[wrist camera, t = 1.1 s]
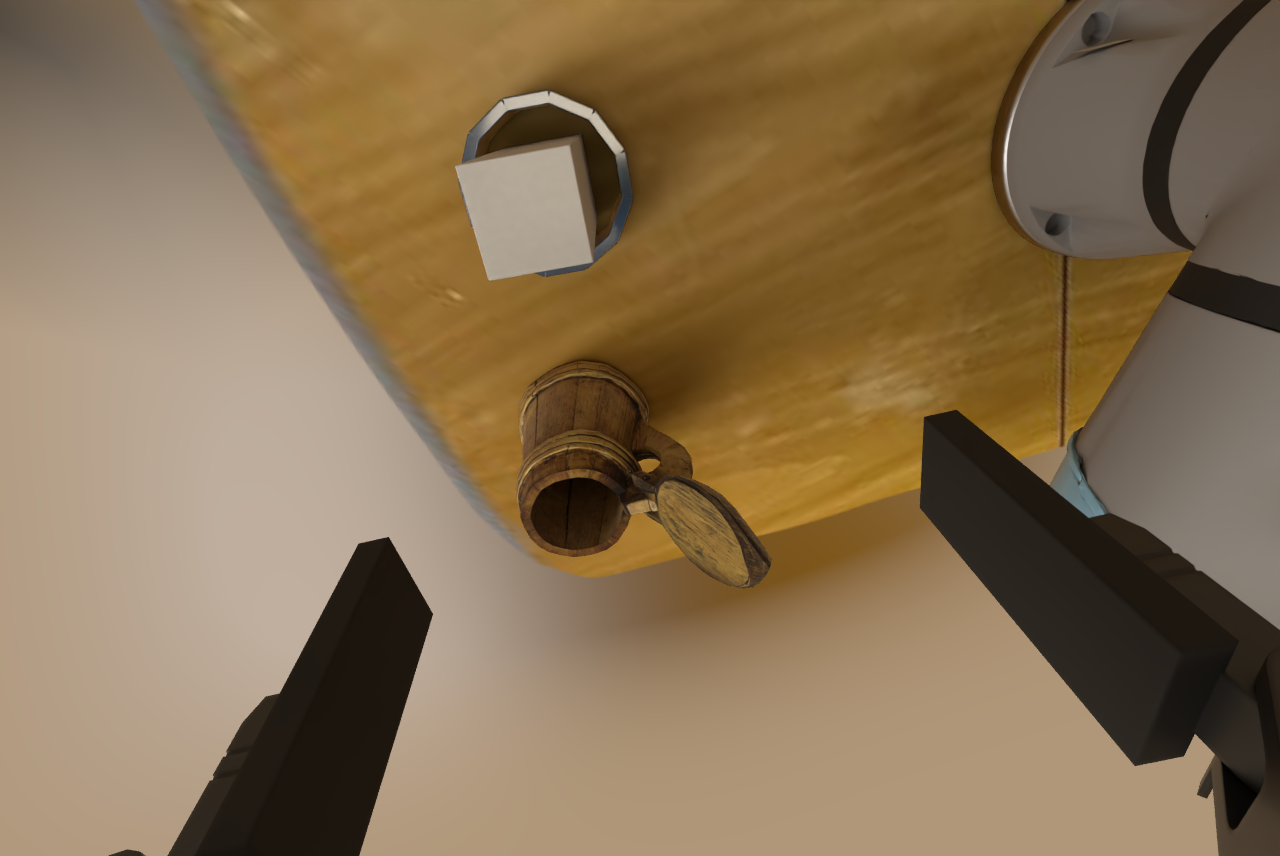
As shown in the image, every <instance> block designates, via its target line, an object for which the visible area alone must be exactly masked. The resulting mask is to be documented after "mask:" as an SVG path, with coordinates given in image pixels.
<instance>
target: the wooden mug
mask: <svg viewBox="0 0 1280 856" xmlns="http://www.w3.org/2000/svg"><path fill="white" fill-rule="evenodd" d="M649 414H650V413H649V407H648V403H647V401H646V399H645V396H644V395H643V394H642V392H641V391H640V390H639V389H638V387H637V386H636V385H635V384H634V383H633V382H632V381H631V380H630V379H628V378H627V377H626V376H625V375H624V374H622V373H621V372H620V371H618V370H616V369H614V368H612V367H610V366H609V365H607V364H604V363H595V362H587V361H577V362H573V363H570V364H565V365H563V366H560V367H557V368H555V369H553V370H551V371H550V372H548V373H547V374H545V375H544V376H542V377H541V378H539V379H538V380H537V381H535V382H534V383H533V384H531V385H530V386H529V387H528V388H527V390H526V392H525V394H524V396H523V398H522V400H521V401H520V411H519V433H520V438H521V442H522V444H523V463H522V465H521V467H520V469H519V471H518V475H517V482H516V495H517V502H518V506H519V511H520V513H521V520H522V523H523V525H524V528H525V529H526V531H527V533H528V535H529V536H530V538H531V539H532V540H533V541H534V542H535V543H536V544H537V545H538V546H539V547H541V548H543V549H545V550H546V551H548V552H551V553H555V554H559V555H564V556H571V557H578V556H586V555H591V554H595V553H598V552H601V551H604V550H607V549H608V548H610V547H611V546H612V545H614V544H615V543H616V542H617V541H618V540H619V538H620V537H621V535H622V534H623V532H624V531H625V529H626V527H627V526H628V523H629V520H630V518H631V516H632V514H636V513H642V512H644V513H645V514H646V515H647V516H649V517H650V518H651V519H653V520H655V521H657V522H658V523H660V524H662V525H663V526H664V528H665V529H666V531H667V532H668V534H669V535H670V537H671V538H672V540H673V541H674V542H675V544H676V545H677V546H678V547H679V548H680V549H681V551H682V552H683V553H684V554H685V555H686V556H687V558H688V559H689V560H690V561H691V562H693V563H694V564H695V565H696V566H697V567H698V568H700V569H701V570H702V571H703V572H705V573H706V574H708V575H709V576H710V577H712V578H714V579H716V580H718V581H720V582H722V583H724V584H726V585H729V586H735V587H739V588H750V587H754V586H755V585H757V584H758V583H759V582H760V581H761V580H762V579H763V578H764V577H765V576H766V574H767V572H768V571H769V569H770V564H771V561H772V559H771V557H770V556H769V554H768V553H767V551H766V550H765V548H764V547H763V545H762V544H761V542H760V541H759V540H758V538H757V537H756V535H755V534H754V533H753V531H752V530H751V529H750V527H749V526H748V525H747V523H746V522H745V521H744V519H743V518H742V517H741V515H740V514H739V513H738V511H737V510H736V509H735V508H734V507H733V506H732V505H731V504H730V503H729V502H728V501H727V499H726V498H725V497H724V496H723V495H721V494H720V493H718V492H717V491H715V490H713V489H712V488H710V487H709V486H707V485H705V484H702V483H700V482H698V481H696V480H693V479H692V475H693V469H692V458H691V457H690V455H689V454H688V452H687V451H686V449H685V448H684V447H683V446H682V445H680V444H679V443H678V442H676V441H675V440H673V439H672V438H670V437H669V436H667V435H665V434H663V433H661V432H659V431H657V430H655V429H653V428H652V427H650V426H649V425H648V420H649ZM643 459H657V460H659V461H660V464H659V466H658V467H657V468H656V469H655V470H653V471H651V472H649V473H646V472H644V471H642V469H641V466H640V465H639V463H638V461H641V460H643Z"/></svg>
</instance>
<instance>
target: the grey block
mask: <svg viewBox="0 0 1280 856" xmlns="http://www.w3.org/2000/svg"><path fill="white" fill-rule="evenodd" d="M455 168H456V171H457V174H458V178H459V181H460V185H461V188H462V191H463V195H464V198H465V202H466V205H467V208H468V212H469V215H470V219H471V222H472V225H473V229H474V232H475V235H476V239H477V242H478V246H479V249H480V252H481V256H482V259H483V263H484V266H485V269H486V273H487V276H488V280H489V281H492V280H497V279H503V278H508V277H514V276H520V275H525V274H531V273H537V272H542V271H548V270H554V269H559V268H565V267H570V266H576V265H582V264H587V263H592V262H593V259H594V247H595V235H596V223H597V212H596V206H595V201H594V196H593V191H592V185H591V180H590V175H589V169H588V164H587V159H586V153H585V148H584V143H583V138H582V134H577V135H571V136H566V137H561V138H555V139H550V140H544V141H539V142H534V143H528V144H523V145H517V146H512V147H507V148H503V149H500V150H498V151H495V152H492V153H489V154H486V155H483V156H481V157H478V158H475V159H472V160H469V161H467V162H464V163H461V164H458V165H456V166H455Z"/></svg>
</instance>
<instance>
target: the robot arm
mask: <svg viewBox="0 0 1280 856" xmlns="http://www.w3.org/2000/svg"><path fill="white" fill-rule="evenodd" d="M991 171H992V181H993V186H994V191H995V195H996V198H997V201H998V204H999V206H1000V208H1001V210H1002V212H1003V214H1004V216H1005V217H1006V219H1007V220H1008V222H1009V223H1010V225H1011V226H1012V227H1013V228H1014V229H1015V230H1016V231H1017V232H1018V233H1019V234H1020V235H1021V236H1022V237H1023V238H1025V239H1026V240H1028V241H1029V242H1031V243H1033V244H1035V245H1037V246H1039V247H1041V248H1044V249H1047V250H1050V251H1053V252H1056V253H1059V254H1063V255H1066V256H1071V257H1076V258H1087V259H1116V258H1125V257H1134V256H1144V255H1153V254H1162V253H1172V252H1181V251H1193V253H1192V254H1191V256H1190V257H1189V259H1188V261H1187V263H1186V264H1185V266H1184V267H1183V269H1182V271H1181V272H1180V274H1179V276H1178V277H1177V279H1176V280H1175V282H1174V284H1173V285H1172V287H1171V288H1170V290H1169V291H1168V292H1167V293H1166V295H1165V296H1164V298H1163V300H1162V301H1161V303H1160V304H1159V306H1158V308H1157V309H1156V311H1155V313H1154V314H1153V316H1152V318H1151V319H1150V321H1149V322H1148V324H1147V326H1146V327H1145V329H1144V331H1143V332H1142V334H1141V335H1140V337H1139V339H1138V340H1137V342H1136V344H1135V345H1134V347H1133V348H1132V350H1131V352H1130V353H1129V355H1128V357H1127V358H1126V360H1125V361H1124V363H1123V365H1122V366H1121V368H1120V370H1119V371H1118V373H1117V374H1116V376H1115V378H1114V379H1113V381H1112V383H1111V384H1110V386H1109V388H1108V389H1107V391H1106V392H1105V394H1104V396H1103V397H1102V399H1101V401H1100V402H1099V404H1098V405H1097V407H1096V409H1095V410H1094V412H1093V413H1092V415H1091V416H1090V418H1089V419H1088V421H1087V423H1086V424H1085V426H1084V427H1082V428H1080V429H1079V430H1077V431H1075V432H1074V433H1073V434H1072V436H1071V437H1070V439H1069V441H1068V445H1067V454H1066V456H1065V457H1064V459H1063V461H1062V463H1061V465H1060V467H1059V469H1058V470H1057V472H1056V474H1055V476H1054V478H1053V480H1052V482H1051V484H1050V485H1048V484H1047V483H1045V482H1044V481H1043V480H1042V479H1041V478H1039V477H1038V476H1037V475H1036V474H1034V473H1033V472H1032V471H1031V470H1030V469H1028V468H1027V467H1026V466H1025V465H1023V464H1022V463H1021V462H1020V461H1019V460H1017V459H1016V458H1015V457H1014V456H1012V455H1011V454H1010V453H1009V452H1008V451H1006V450H1005V449H1004V448H1003V447H1001V446H1000V445H999V444H998V443H996V442H995V441H994V440H993V439H992V438H990V437H989V436H988V435H987V434H985V433H984V432H983V431H982V430H981V429H979V428H978V427H977V426H976V425H974V424H973V423H972V422H971V421H970V420H968V419H967V418H966V417H965V416H963V415H962V414H961V413H960V412H959V411H957V410H953V411H949V412H944V413H940V414H936V415H931V416H927V417H924V430H923V451H922V473H921V494H920V508H921V510H922V511H923V512H924V513H925V514H926V516H927V517H928V518H929V519H930V520H931V522H932V523H933V524H934V525H935V526H936V528H937V529H938V530H939V531H940V532H941V534H942V535H943V536H944V537H945V538H946V540H947V541H948V542H949V543H950V544H951V546H952V547H953V548H954V549H955V551H956V552H957V553H958V554H959V555H960V556H961V558H962V559H963V560H964V561H965V563H966V564H967V565H968V566H969V567H970V569H971V570H972V571H973V572H974V573H975V574H976V576H977V577H978V578H979V579H980V581H981V582H982V583H983V584H984V585H985V587H986V588H987V589H988V590H989V591H990V593H992V595H993V596H994V597H995V598H996V600H997V601H998V602H999V603H1000V605H1001V606H1002V607H1003V608H1004V609H1005V610H1006V612H1007V613H1008V614H1009V615H1010V616H1011V618H1012V619H1013V620H1014V621H1015V623H1016V624H1017V625H1018V626H1019V627H1020V629H1021V630H1022V631H1023V632H1024V633H1025V635H1026V636H1027V637H1028V638H1029V639H1030V641H1031V642H1032V643H1033V644H1034V645H1035V647H1036V648H1037V649H1038V650H1039V651H1040V653H1041V654H1042V655H1043V656H1044V657H1045V658H1046V660H1047V661H1048V662H1049V663H1050V665H1051V666H1052V667H1053V668H1054V669H1055V671H1056V672H1057V673H1058V674H1059V675H1060V677H1061V678H1062V679H1063V680H1064V681H1065V683H1066V684H1067V685H1068V686H1069V687H1070V689H1071V690H1072V691H1073V692H1074V693H1075V695H1076V696H1077V697H1078V698H1079V699H1080V701H1081V702H1082V703H1083V704H1084V705H1085V707H1086V708H1087V709H1088V710H1089V711H1090V713H1091V714H1092V715H1093V716H1094V717H1095V719H1096V720H1097V721H1098V722H1099V723H1100V725H1101V726H1102V727H1103V728H1104V729H1105V731H1106V732H1107V733H1108V734H1109V735H1110V737H1111V738H1112V739H1113V740H1114V741H1115V743H1116V744H1117V745H1118V746H1119V747H1120V749H1121V750H1122V751H1123V752H1124V753H1125V755H1126V756H1127V757H1128V758H1129V759H1130V761H1131V762H1132V763H1133V764H1134V765H1135V766H1138V765H1143V764H1147V763H1153V762H1158V761H1162V760H1167V759H1173V758H1177V757H1182V756H1184V755H1185V753H1186V751H1187V749H1188V747H1189V745H1190V743H1191V741H1192V739H1193V736H1194V734H1196V735H1197V736H1198V737H1199V738H1200V739H1201V740H1202V741H1203V742H1204V743H1205V744H1206V745H1207V746H1208V747H1209V748H1210V749H1211V751H1212V752H1213V753H1214V754H1215V756H1214V758H1213V759H1212V761H1211V763H1210V765H1209V767H1208V769H1207V771H1206V773H1205V775H1204V777H1203V778H1202V780H1201V782H1200V786H1199V789H1198V793H1197V795H1199V796H1202V797H1205V798H1208V796H1209V794H1210V792H1211V790H1212V789H1213V795H1214V805H1215V818H1216V829H1217V841H1218V853H1219V856H1280V0H1070V1H1069V2H1068V3H1067V4H1066V5H1064V6H1063V7H1062V8H1061V10H1060V11H1059V12H1058V13H1057V14H1056V15H1055V16H1054V17H1053V18H1052V19H1051V20H1050V21H1049V23H1048V24H1047V25H1046V26H1045V28H1044V29H1043V30H1042V31H1041V33H1040V34H1039V35H1038V37H1037V38H1036V39H1035V41H1034V42H1033V44H1032V45H1031V47H1030V48H1029V49H1028V51H1027V53H1026V54H1025V56H1024V58H1023V59H1022V61H1021V63H1020V64H1019V66H1018V68H1017V70H1016V72H1015V74H1014V76H1013V78H1012V80H1011V82H1010V84H1009V86H1008V89H1007V91H1006V93H1005V96H1004V99H1003V101H1002V104H1001V107H1000V110H999V114H998V117H997V121H996V125H995V130H994V136H993V141H992V153H991ZM432 616H433V613H432V612H431V610H430V608H429V606H428V605H427V603H426V601H425V599H424V598H423V596H422V594H421V592H420V591H419V589H418V587H417V585H416V584H415V582H414V580H413V578H412V577H411V575H410V573H409V571H408V570H407V568H406V566H405V564H404V563H403V561H402V559H401V558H400V556H399V554H398V552H397V551H396V549H395V547H394V545H393V544H392V542H391V540H390V538H389V537H387V538H382V539H378V540H373V541H369V542H365V543H360V544H358V546H357V548H356V550H355V552H354V554H353V555H352V557H351V559H350V561H349V563H348V565H347V567H346V569H345V571H344V572H343V574H342V576H341V578H340V580H339V582H338V584H337V586H336V588H335V590H334V592H333V593H332V595H331V597H330V599H329V601H328V603H327V605H326V607H325V609H324V610H323V612H322V615H321V616H320V618H319V620H318V622H317V624H316V626H315V628H314V630H313V632H312V633H311V635H310V637H309V639H308V641H307V643H306V645H305V647H304V648H303V651H302V652H301V654H300V656H299V658H298V660H297V662H296V664H295V666H294V668H293V669H292V671H291V673H290V675H289V677H288V679H287V681H286V683H285V685H284V686H283V688H282V690H281V692H280V694H276V695H271V696H266V697H265V698H264V699H263V700H262V701H261V703H260V704H259V705H258V706H257V707H256V708H255V709H254V710H253V712H252V713H251V714H250V715H249V716H248V717H247V718H246V719H245V721H244V722H243V723H242V724H241V726H240V728H239V730H238V732H237V733H236V735H235V737H234V739H233V740H232V742H231V744H230V746H229V748H228V749H227V755H226V757H223V758H222V760H221V762H220V764H219V765H218V767H217V769H216V771H215V772H214V774H213V776H214V778H213V780H212V781H209V783H208V785H207V787H206V788H205V790H204V792H203V794H202V796H201V798H200V799H199V801H198V803H197V804H196V806H195V808H194V810H193V811H192V813H191V815H190V817H189V819H188V820H187V822H186V824H185V826H184V828H183V830H182V831H181V833H180V835H179V837H178V838H177V840H176V842H175V843H174V845H173V847H172V849H171V851H170V852H169V854H168V856H359V855H360V851H361V848H362V845H363V841H364V838H365V835H366V832H367V828H368V825H369V822H370V818H371V815H372V812H373V809H374V806H375V802H376V799H377V796H378V792H379V789H380V785H381V782H382V779H383V776H384V773H385V770H386V766H387V763H388V760H389V756H390V753H391V750H392V747H393V743H394V740H395V737H396V734H397V730H398V727H399V724H400V720H401V717H402V714H403V710H404V707H405V704H406V700H407V697H408V694H409V691H410V688H411V684H412V681H413V678H414V675H415V671H416V668H417V665H418V661H419V658H420V655H421V652H422V648H423V645H424V642H425V639H426V635H427V632H428V629H429V626H430V622H431V619H432ZM109 856H145V855H144V854H143V853H141V852H139V851H133V850H124V851H121V852H118V853H115V854H112V855H109Z"/></svg>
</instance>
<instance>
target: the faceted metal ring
mask: <svg viewBox="0 0 1280 856" xmlns="http://www.w3.org/2000/svg"><path fill="white" fill-rule="evenodd" d="M550 105H552V106H555V107H557V108H559V109H562V110H564V111H567V112H569V113H571V114H574V115H576V116H578V117H581V118H583V119H585V120H588V121H589V122H590V124H591V125H592V126H593V128H594V129H595V130H596V132H597V133H598V134H599V135H600V137H601V138H602V139H603V141H604V142H605V143H606V145H607V146H608V147H609V149H610V150H611V151H612V153H613V154H614V155H615V161H616V167H617V173H618V179H619V185H620V193H619V196H618V199H617V201H616V204H615V207H614V210H613V213H612V216H611V219H610V222H609V225H608V226H606V227H605V228H604V229H603V230H602V231H601V232H600V233H599V234H597V235H596V236H595V247H594V259H593V262H592V263H587V264H582V265H576V266H570V267H565V268H559V269H554V270H548V271H542V272H537V273H535V274H538V275H541V276H546V277H548V276H554V275H559V274H565V273H571V272H576V271H582V270H585V269H588V268H589V267H590V266H591V265H592V264H594V263H595V262H596V261H597V260H598V259H599V258H600V257H602V256H603V255H604V254H605V253H606V252H607V251H609V250H610V249H611V248H612V247H613V246H614V245H615V244H617V242H618V241H619V239H620V236H621V233H622V230H623V227H624V225H625V222H626V219H627V216H628V213H629V210H630V207H631V205H632V202H633V193H632V186H631V180H630V174H629V167H628V161H627V155H626V151H625V148H624V146H623V145H622V143H621V142H620V141H619V139H618V138H617V137H616V135H615V134H614V133H613V131H612V130H611V129H610V127H609V126H608V125H607V123H606V122H605V121H604V119H603V118H602V117H601V115H600V114H599V112H598V111H597V110H595V109H594V108H592V107H589V106H587V105H585V104H582V103H580V102H578V101H575V100H573V99H571V98H568V97H566V96H564V95H561V94H559V93H557V92H554V91H552V90H542V91H537V92H532V93H527V94H521V95H516V96H511V97H505V98H503V99H501V100H499V101H498V102H497V103H496V104H495V105H494V106H493V108H492V109H491V110H490V111H489V112H488V113H487V114H486V115H485V116H484V117H483V118H482V119H481V120H480V121H479V122H478V123H477V124H476V125H475V126H474V127H473V128H472V129H471V130H470V131H469V134H468V135H467V140H466V144H465V149H464V154H463V159H462V163H464V162H467V161H469V160H472V159H475V158H478V157H481V156H483V155H486V154H488V150H489V145H490V141H491V138H492V137H493V136H494V135H495V134H496V133H497V132H498V131H499V130H500V129H501V128H502V127H503V126H504V125H505V124H506V123H507V122H508V121H509V120H510V119H511V118H512V117H513V116H514V115H515V114H516V112H518V111H523V110H529V109H534V108H539V107H545V106H550ZM458 180H459V178H458ZM459 186H460V190H461V193H462V196H463V200H464V203H465V207H466V210H467V213H468V217H469V220H470V224H471V226H472V227H473V225H472V222H471V219H470V215H469V212H468V208H467V205H466V202H465V198H464V195H463V191H462V188H461V185H460V181H459ZM473 230H474V229H473Z"/></svg>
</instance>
